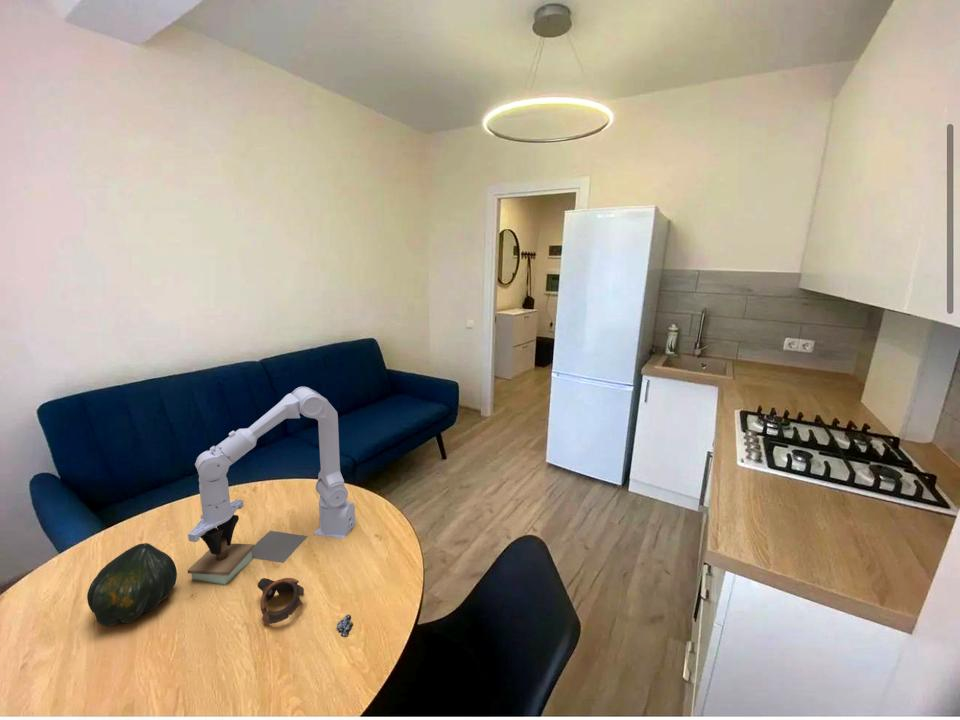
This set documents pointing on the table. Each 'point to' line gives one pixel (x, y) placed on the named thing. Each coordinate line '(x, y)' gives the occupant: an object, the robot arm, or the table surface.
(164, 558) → the squash
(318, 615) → the table surface
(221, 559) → the lid
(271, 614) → the pottery mug
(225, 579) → the dish
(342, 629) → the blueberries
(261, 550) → the mat
